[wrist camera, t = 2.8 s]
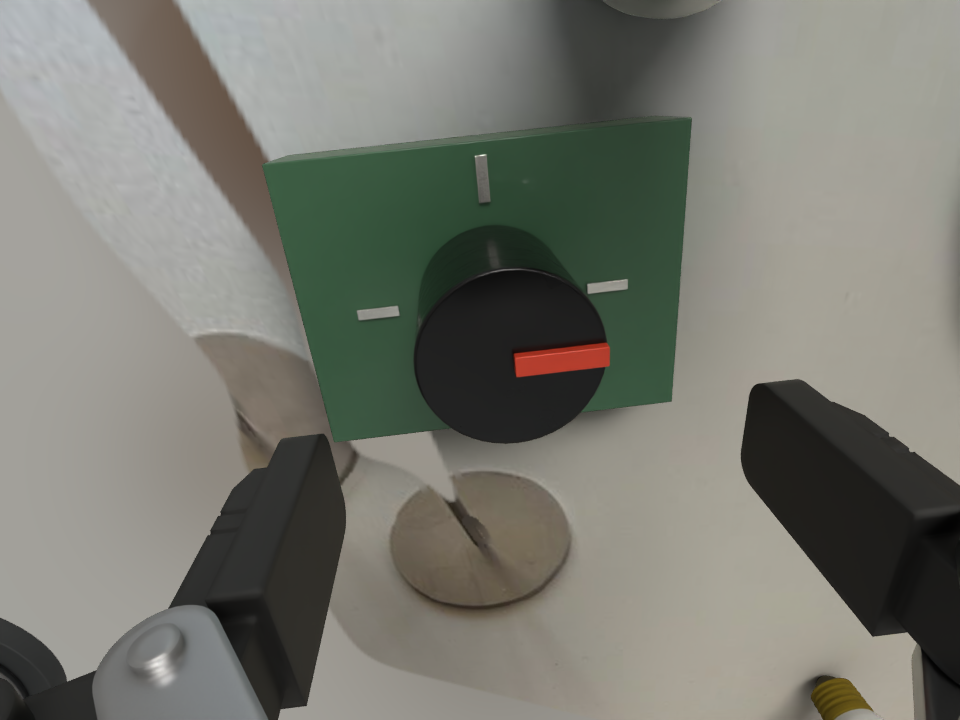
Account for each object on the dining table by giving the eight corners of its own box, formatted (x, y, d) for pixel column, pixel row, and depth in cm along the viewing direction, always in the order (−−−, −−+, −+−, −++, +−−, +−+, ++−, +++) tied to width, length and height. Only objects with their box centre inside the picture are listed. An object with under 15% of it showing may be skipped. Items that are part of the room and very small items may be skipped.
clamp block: (346, 403, 23) (332, 445, 20) (286, 155, 18) (259, 164, 16) (644, 367, 23) (673, 404, 20) (655, 115, 19) (694, 117, 16)
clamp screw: (430, 372, 19) (427, 461, 14) (408, 233, 17) (397, 283, 12) (567, 356, 19) (611, 439, 14) (564, 216, 17) (613, 259, 12)
